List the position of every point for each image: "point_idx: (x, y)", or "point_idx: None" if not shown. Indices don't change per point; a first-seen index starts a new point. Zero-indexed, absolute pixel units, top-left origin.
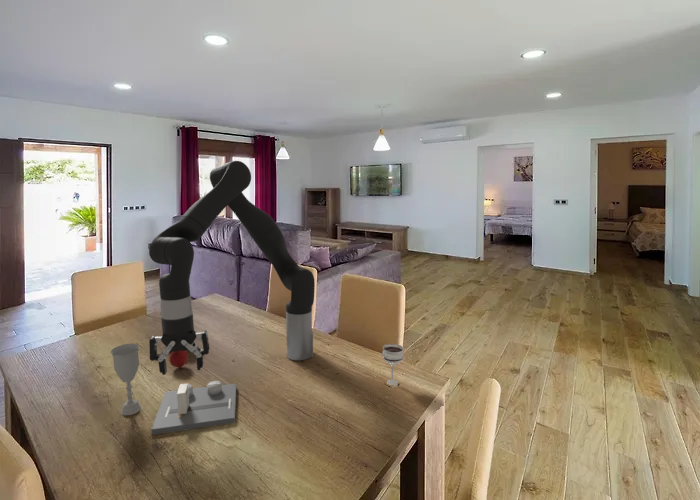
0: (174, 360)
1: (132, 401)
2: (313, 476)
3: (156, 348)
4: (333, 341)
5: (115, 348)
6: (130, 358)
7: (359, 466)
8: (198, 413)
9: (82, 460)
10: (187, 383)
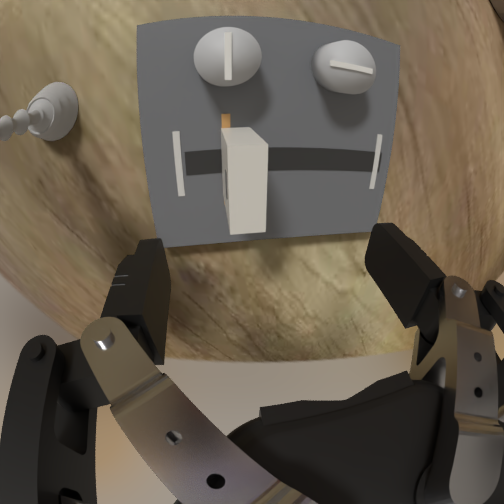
0: None
1: (43, 117)
2: (409, 335)
3: (52, 435)
4: None
5: None
6: None
7: None
8: (286, 191)
9: (65, 294)
10: (266, 146)
